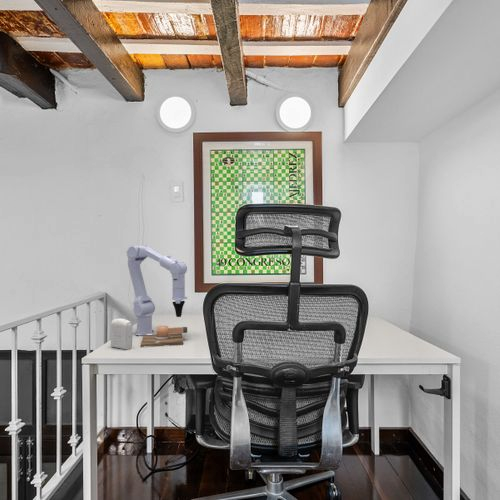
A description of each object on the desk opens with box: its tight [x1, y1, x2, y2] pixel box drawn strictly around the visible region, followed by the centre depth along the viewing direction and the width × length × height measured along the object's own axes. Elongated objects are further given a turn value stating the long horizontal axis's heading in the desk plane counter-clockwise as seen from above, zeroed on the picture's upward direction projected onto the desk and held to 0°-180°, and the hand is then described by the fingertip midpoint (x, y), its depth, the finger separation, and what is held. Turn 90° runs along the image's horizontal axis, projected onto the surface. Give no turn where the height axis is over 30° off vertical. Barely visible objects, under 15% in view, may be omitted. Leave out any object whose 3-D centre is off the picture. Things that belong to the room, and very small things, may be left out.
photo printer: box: [110, 318, 133, 350], centre depth 165 cm, size 10×4×12 cm, turn 60°
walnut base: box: [140, 333, 184, 348], centre depth 176 cm, size 18×18×2 cm
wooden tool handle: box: [156, 325, 188, 337], centre depth 177 cm, size 14×5×4 cm, turn 102°
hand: (178, 316), depth 183 cm, fingers closed
